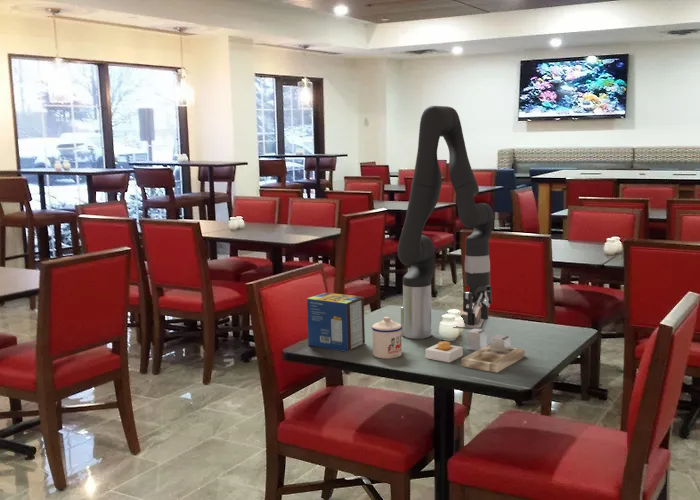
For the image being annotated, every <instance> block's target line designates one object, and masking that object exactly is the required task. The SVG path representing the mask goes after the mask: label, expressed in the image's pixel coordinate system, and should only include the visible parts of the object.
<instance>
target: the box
mask: <svg viewBox="0 0 700 500" xmlns="http://www.w3.org/2000/svg"><path fill="white" fill-rule="evenodd" d="M424 350H425V352H424V353H425V359H429V360H434V361H438V362H439V361H440V362H444V363H451V362H453V361H455V360H457V359H459V358H461V357H463V355H464V353H463V351H464V347H463V346H460V345H459V346H458V345H455V344H454V345H453V344H450V350H448V351H443V350H438V343H436V344H434V345H432V346H430V347H427V348H425V349H424Z"/></svg>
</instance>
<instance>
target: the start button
mask: <svg viewBox="0 0 700 500" xmlns="http://www.w3.org/2000/svg"><path fill="white" fill-rule="evenodd" d="M437 342H438V343H437V344H438V350H443V351H448V350H450V345H451V341H446V340H443V341H437Z"/></svg>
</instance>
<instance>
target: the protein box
mask: <svg viewBox="0 0 700 500" xmlns="http://www.w3.org/2000/svg"><path fill="white" fill-rule="evenodd" d="M306 308H307V310H306V311H307V313H306V314H307V342H308V343H307V345H308V346H309V347H317V348H321V349H329V350H335V351H341V352H346V353H347V352H350V351H352V350H354V349H357V348H359V347H361V346H363V345H365V344H366V339H365V337H366V335H365V332H366V331H365V298H364V296H361V295H351V294H343V293H342V294H341V293H330V292H322V293H320V294H317V295H313V296H310V297H307V298H306Z"/></svg>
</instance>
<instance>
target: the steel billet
mask: <svg viewBox="0 0 700 500" xmlns="http://www.w3.org/2000/svg"><path fill="white" fill-rule="evenodd" d="M466 343H467V344H466V346H467V347H466V350H471V351H474V352H476V351H478V350H479V349H481V348H483V347H485V346H487V345H488V330H487V329H482V328H470V330H467V332H466Z"/></svg>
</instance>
